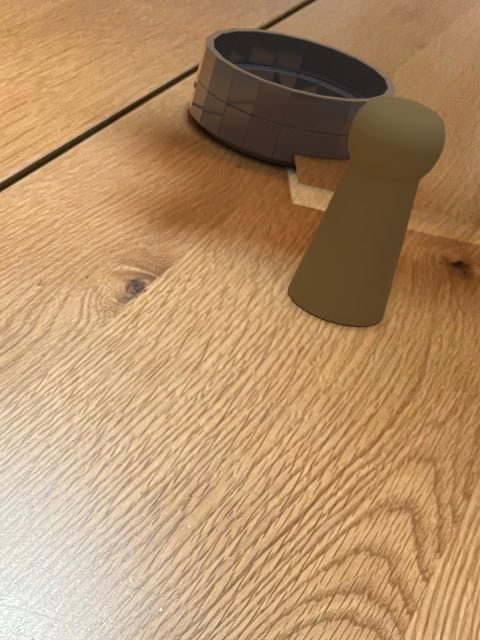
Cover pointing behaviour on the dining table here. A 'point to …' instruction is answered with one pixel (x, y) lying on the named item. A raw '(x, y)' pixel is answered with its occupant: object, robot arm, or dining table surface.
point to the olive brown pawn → (368, 213)
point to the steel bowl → (281, 94)
